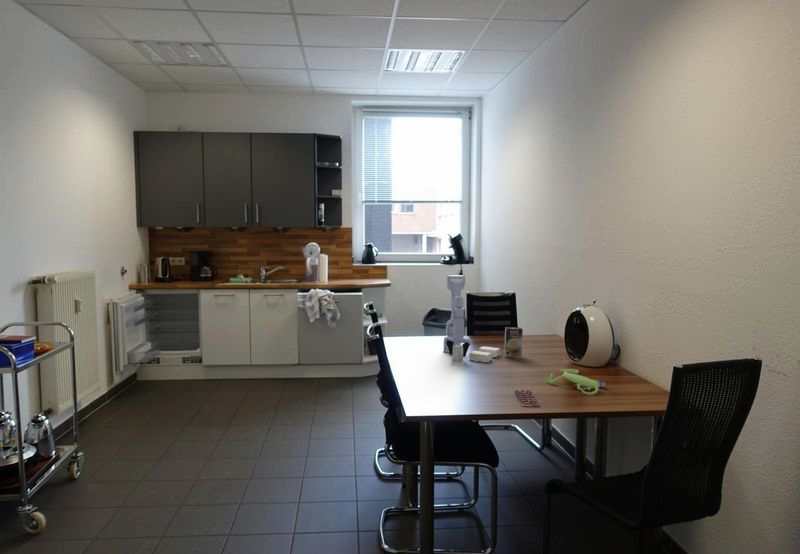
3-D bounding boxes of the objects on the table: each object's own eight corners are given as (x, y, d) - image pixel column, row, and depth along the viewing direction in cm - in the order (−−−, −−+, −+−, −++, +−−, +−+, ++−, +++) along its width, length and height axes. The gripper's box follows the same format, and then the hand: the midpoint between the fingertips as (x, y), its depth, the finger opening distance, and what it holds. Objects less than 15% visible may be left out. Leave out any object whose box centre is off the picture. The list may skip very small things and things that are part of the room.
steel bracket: (452, 361, 294) (452, 346, 293) (456, 359, 298) (456, 344, 298) (459, 362, 292) (459, 347, 291) (463, 360, 296) (463, 345, 296)
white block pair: (469, 360, 296) (469, 352, 296) (483, 353, 313) (483, 346, 313) (487, 362, 291) (487, 355, 291) (499, 355, 309) (500, 348, 308)
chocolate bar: (521, 408, 220) (522, 403, 219) (514, 393, 239) (514, 389, 238) (540, 408, 219) (540, 403, 219) (531, 394, 238) (531, 389, 238)
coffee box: (504, 357, 303) (505, 328, 302) (503, 355, 310) (504, 326, 308) (521, 358, 302) (522, 329, 301) (520, 355, 309) (521, 327, 307)
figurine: (565, 377, 267) (566, 365, 267) (615, 390, 245) (616, 377, 245) (540, 382, 256) (540, 370, 256) (590, 397, 235) (590, 384, 234)
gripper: (442, 330, 294) (442, 355, 295) (468, 333, 287) (467, 358, 288) (448, 328, 300) (447, 353, 301) (473, 331, 293) (472, 356, 294)
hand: (457, 355), depth 295 cm, fingers open, 7 cm apart
